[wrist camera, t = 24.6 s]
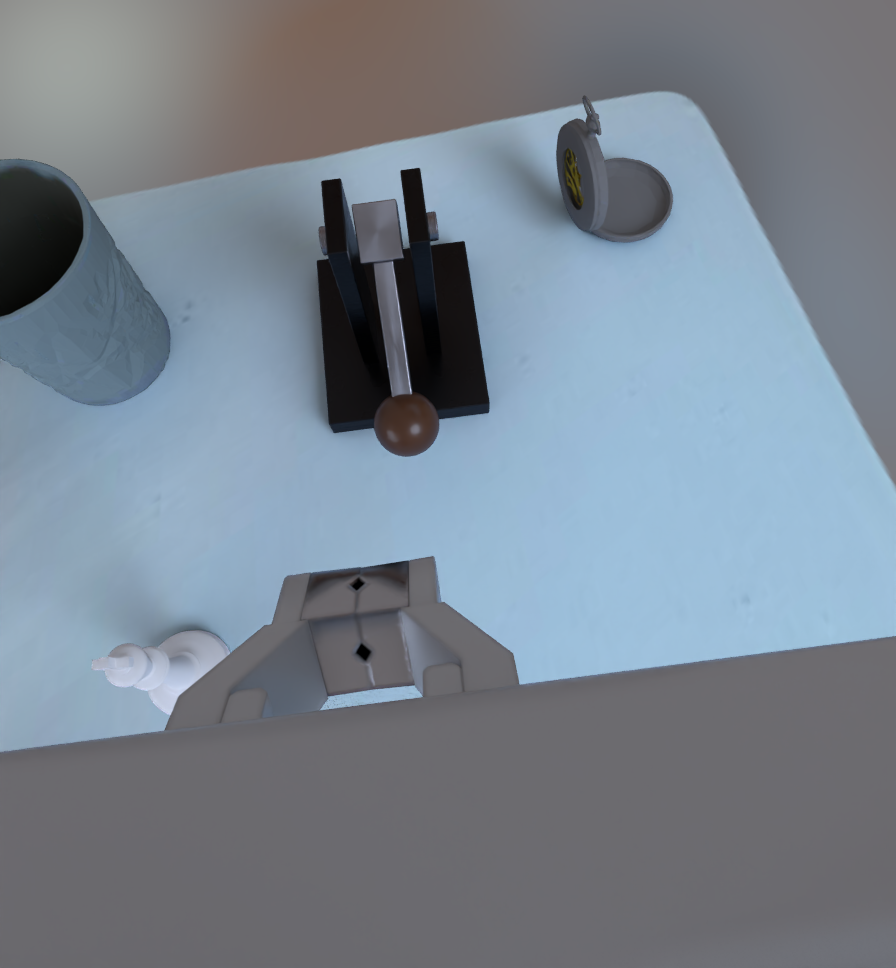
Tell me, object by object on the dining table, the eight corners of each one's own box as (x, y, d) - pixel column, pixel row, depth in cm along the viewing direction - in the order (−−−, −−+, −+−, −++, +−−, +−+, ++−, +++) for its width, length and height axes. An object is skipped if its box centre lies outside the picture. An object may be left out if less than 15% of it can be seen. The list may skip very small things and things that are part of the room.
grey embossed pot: (199, 295, 48) (113, 167, 37) (158, 430, 45) (51, 336, 34) (61, 279, 49) (-65, 148, 38) (11, 410, 46) (-141, 312, 35)
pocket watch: (687, 198, 49) (737, 76, 40) (618, 282, 47) (652, 174, 38) (591, 142, 51) (616, 12, 41) (520, 220, 49) (530, 103, 40)
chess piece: (151, 633, 41) (53, 611, 32) (234, 627, 41) (161, 602, 32) (147, 722, 40) (42, 725, 30) (233, 715, 40) (155, 716, 30)
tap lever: (442, 444, 41) (444, 458, 38) (381, 452, 41) (377, 467, 38) (411, 204, 38) (409, 195, 34) (344, 213, 38) (335, 205, 34)
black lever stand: (489, 413, 45) (492, 302, 33) (333, 433, 45) (279, 330, 33) (464, 254, 49) (460, 101, 36) (321, 273, 49) (268, 126, 36)
